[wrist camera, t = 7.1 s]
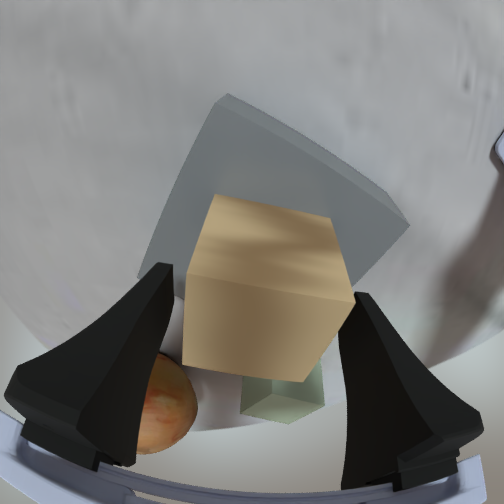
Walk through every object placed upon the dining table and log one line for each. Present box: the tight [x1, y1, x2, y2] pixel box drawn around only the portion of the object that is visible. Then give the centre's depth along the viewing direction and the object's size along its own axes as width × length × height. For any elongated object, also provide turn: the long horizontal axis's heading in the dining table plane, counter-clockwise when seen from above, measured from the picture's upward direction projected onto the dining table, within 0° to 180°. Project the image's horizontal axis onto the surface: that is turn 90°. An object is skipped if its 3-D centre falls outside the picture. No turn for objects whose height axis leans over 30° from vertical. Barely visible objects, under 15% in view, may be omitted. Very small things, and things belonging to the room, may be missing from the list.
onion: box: [136, 353, 198, 454], centre depth 23 cm, size 10×10×10 cm
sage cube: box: [240, 359, 325, 424], centre depth 23 cm, size 5×5×5 cm
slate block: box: [137, 94, 410, 300], centre depth 15 cm, size 10×10×4 cm
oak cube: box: [182, 194, 356, 382], centre depth 12 cm, size 5×5×5 cm
